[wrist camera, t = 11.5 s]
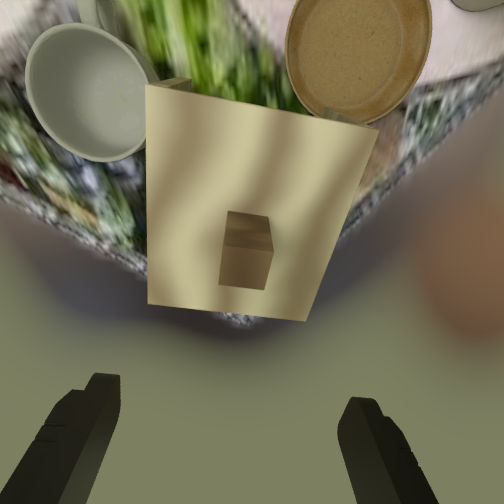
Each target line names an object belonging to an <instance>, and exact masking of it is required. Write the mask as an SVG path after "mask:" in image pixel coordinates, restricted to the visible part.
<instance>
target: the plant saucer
mask: <svg viewBox="0 0 504 504" xmlns="http://www.w3.org/2000/svg"><path fill="white" fill-rule="evenodd" d="M431 37H432V11H431V5H430V1H429V0H297V1H296V4H295V6H294V8H293V11H292V14H291V17H290V20H289V24H288V28H287V33H286V42H285V60H286V68H287V72H288V76H289V80H290V83H291V85H292V88H293V90H294V92H295V94H296V95H297V98H298V99H299V101H300V102H301V103H302V105H303V106H304V107H305V108H306V109H307V110H308V111H309V112H310V113H311V114H313V115H314V116H315V117H319V118H321V114H322V111H323V107H324V106H325V107H330V108H335V109H337V110H339V111H341V112H343V113H345V114H347V115H349V116H351V117H353V118H355V119H357V120H359V121H361V122H363V123H365V124H368V123H371V122H373V121H375V120H377V119H379V118H381V117H383V116H385V115H386V114H388V113H389V112H390V111H392V110H393V109H394V108H395V107H396V106H397V105H399V104H400V103H401V102H402V101H403V99H404V98H405V97H406V96H407V95H408V93H409V92H410V91H411V89H412V88H413V86H414V85H415V83H416V81H417V80H418V78H419V76H420V74H421V72H422V70H423V67H424V65H425V62H426V59H427V56H428V53H429V49H430V44H431Z"/></svg>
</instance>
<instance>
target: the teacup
mask: <svg viewBox="0 0 504 504" xmlns="http://www.w3.org/2000/svg"><path fill="white" fill-rule="evenodd" d="M77 7H78V11H79V14H80V18H81V21H82V23H65V24H60V25H57V26H54V27H51V28H50V29H48V30H47V31H45V32H44V33H43V34H41V35H40V36H39V37H38V38H37V40H36V41H35V42H34V44H33V46H32V48H31V50H30V52H29V55H28V58H27V63H26V69H25V83H26V90H27V95H28V98H29V101H30V104H31V106H32V109H33V111H34V113H35V115H36V117H37V118H38V120H39V122H40V123H41V125H42V126H43V128H44V129H45V130H46V131H47V133H48V134H49V135H50V136H51V137H52V138H53V139H54V140H55V141H56V142H57V143H58V144H60V145H61V146H62V147H64V148H65V149H67V150H68V151H70V152H72V153H74V154H76V155H77V156H79V157H82V158H85V159H88V160H91V161H96V162H114V161H119V160H122V159H125V158H127V157H129V156H130V155H132V154H133V153H135V152H138V151H140V150H141V149H143V148H145V147H146V110H145V84H149V83H153V82H158V81H160V80H159V78H158V76H157V74H156V72H155V71H154V69H153V68H152V66H151V65H150V64H149V62H148V61H147V60H146V59H145V58H144V57H143V56H142V55H141V54H140V53H139V52H138V51H136V50H135V49H134V48H132V47H131V46H129V45H128V44H126V43H125V42H123V41H121V40H120V37H119V34H118V30H117V25H116V19H115V15H114V10H113V6H112V2H111V0H77Z"/></svg>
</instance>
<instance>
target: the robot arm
mask: <svg viewBox="0 0 504 504" xmlns="http://www.w3.org/2000/svg"><path fill="white" fill-rule="evenodd" d="M452 1H453V2H454V3H455V4H456V5H457V6H459V7H460V8H462V9H465V10H468V11H482V10H486V9H489V8H492V7H494V6H497V5H499V4H502V3H504V0H452ZM120 402H121V399H120V375H116V374H104V373H95V374H93V376H92V377H91V379H90V380H89V382H88V384H87V386H86V388H85V390H73V389H72V390H71V391H70V392H69V393H68V394H66V396H64V397H63V398H62V399H61V400H60V401H59V402H57V403H56V404H55V406H54V408H53V409H52V411H51V412H50V414H49V416H48V417H47V419H46V420H45V423H44V425H43V426H42V427H41V429H40V430H39V432H38V434H37V435H36V437H35V440H34V441H32V443H31V445H30V446H29V448H28V450H27V451H26V453H25V454H24V456H23V458H22V459H21V461H20V463H19V464H18V466H17V467H16V469H15V471H14V472H13V474H12V475H11V477H10V479H9V480H8V482H7V484H6V485H5V487H4V488H3V490H2V491H1V493H0V504H86V502H87V499H88V497H89V494H90V492H91V489H92V487H93V484H94V481H95V479H96V476H97V474H98V471H99V468H100V466H101V463H102V461H103V458H104V455H105V453H106V450H107V448H108V445H109V442H110V440H111V437H112V435H113V432H114V429H115V427H116V424H117V421H118V417H119V413H120V406H121V403H120ZM337 434H338V441H339V445H340V448H341V452H342V454H343V458H344V461H345V465H346V468H347V471H348V475H349V478H350V481H351V484H352V488H353V491H354V494H355V497H356V501H357V504H439V503H438V501H437V499H436V497H435V495H434V493H433V491H432V489H431V487H430V485H429V483H428V481H427V479H426V477H425V476H424V473H423V471H422V470H421V468H420V467H419V466H418V462H417V460H416V458H415V456H414V454H413V452H411V448H410V446H409V444H408V442H407V440H406V439H405V436H404V434H403V432H402V431H401V430H400V429H399V428H398V426H397V425H396V424H395V423H394V422H393V420H392V419H391V418H390V417H387V416H384V415H383V414H382V411H381V409H380V407H379V405H378V403H377V402H376V401H375V400H374V399H372V398H361V397H352V398H350V400H349V402H348V404H347V406H346V408H345V411H344V413H343V415H342V417H341V419H340V421H339V424H338V430H337Z"/></svg>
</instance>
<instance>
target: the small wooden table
mask: <svg viewBox="0 0 504 504" xmlns="http://www.w3.org/2000/svg"><path fill="white" fill-rule="evenodd" d="M191 81H192V79H187V78H182V77H177V78H173V79H168V80H163V81H158V82H153V83H149V84H145V110H146V188H147V267H148V304H154V305H163V306H172V307H181V308H190V309H199V310H208V311H217V312H226V313H235V314H244V315H253V316H262V317H270V318H280V319H289V320H298V321H306V319H307V317H308V314H309V312H310V309H311V307H312V304H313V301H314V299H315V296H316V294H317V291H318V288H319V286H320V283H321V281H322V278H323V275H324V273H325V270H326V268H327V265H328V263H329V260H330V258H331V255H332V252H333V250H334V247H335V245H336V242H337V239H338V237H339V234H340V232H341V229H342V227H343V224H344V221H345V219H346V216H347V214H348V211H349V209H350V206H351V203H352V201H353V198H354V196H355V193H356V191H357V188H358V185H359V183H360V180H361V178H362V175H363V172H364V170H365V167H366V165H367V162H368V160H369V157H370V154H371V152H372V149H373V147H374V144H375V142H376V139H377V136H378V134H379V131H380V130H378V129H376V128H374V127H372V126H369V125H367V124H365V123H363V122H361V121H359V120H357V119H355V118H353V117H351V116H349V115H347V114H345V113H343V112H341V111H339V110H337V109H335V108H330V107H325V106H324V107H323V111H322V114H321V118H319V117H314V116H309V115H304V114H299V113H294V112H289V111H284V110H279V109H274V108H269V107H264V106H259V105H254V104H249V103H244V102H239V101H233V100H228V99H223V98H218V97H213V96H208V95H203V94H198V93H193V92H191Z"/></svg>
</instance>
